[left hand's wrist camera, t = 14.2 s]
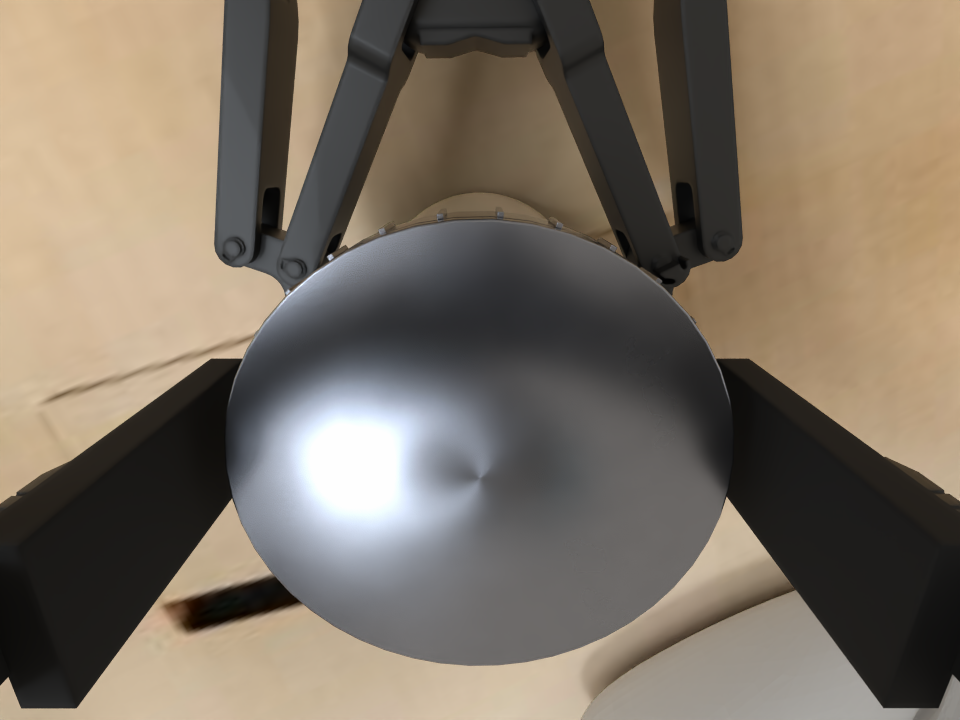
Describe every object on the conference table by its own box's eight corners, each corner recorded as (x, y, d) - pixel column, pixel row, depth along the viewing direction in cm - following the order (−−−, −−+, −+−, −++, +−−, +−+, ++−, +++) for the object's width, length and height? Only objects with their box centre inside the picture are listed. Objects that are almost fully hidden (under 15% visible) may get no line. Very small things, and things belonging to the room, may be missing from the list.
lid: (643, 127, 10) (673, 119, 8) (742, 549, 13) (777, 601, 11) (165, 306, 11) (115, 330, 9) (366, 653, 14) (352, 712, 12)
